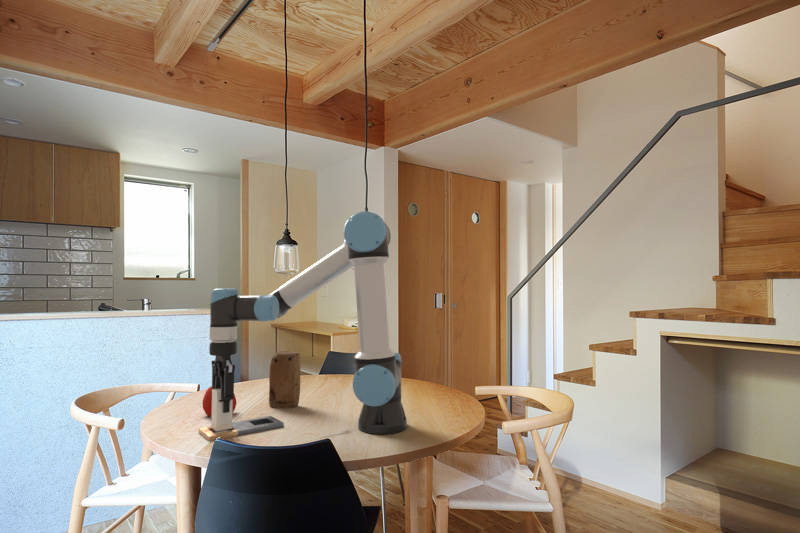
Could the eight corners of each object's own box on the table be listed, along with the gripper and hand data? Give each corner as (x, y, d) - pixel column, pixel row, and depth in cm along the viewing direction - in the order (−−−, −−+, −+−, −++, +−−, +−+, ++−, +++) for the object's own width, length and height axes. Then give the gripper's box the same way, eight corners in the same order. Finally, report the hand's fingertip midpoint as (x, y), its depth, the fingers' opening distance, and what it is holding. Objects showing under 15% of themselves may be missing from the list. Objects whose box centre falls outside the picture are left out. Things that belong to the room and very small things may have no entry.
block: (301, 405, 173) (302, 350, 174) (296, 410, 165) (296, 353, 166) (272, 404, 173) (273, 350, 174) (265, 409, 166) (266, 353, 167)
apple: (202, 412, 162) (203, 381, 163) (235, 409, 166) (236, 379, 166) (201, 420, 152) (202, 387, 153) (236, 417, 156) (237, 385, 156)
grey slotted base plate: (283, 429, 143) (283, 422, 143) (208, 444, 129) (209, 436, 129) (270, 422, 150) (270, 415, 151) (198, 435, 137) (198, 428, 137)
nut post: (232, 428, 136) (232, 390, 136) (216, 431, 133) (217, 392, 133) (226, 424, 139) (227, 387, 140) (211, 427, 136) (212, 389, 137)
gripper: (247, 342, 133) (245, 426, 132) (226, 337, 147) (224, 413, 145) (220, 344, 128) (218, 431, 127) (201, 339, 142) (199, 417, 141)
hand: (221, 421), depth 136 cm, fingers closed on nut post, 4 cm apart
